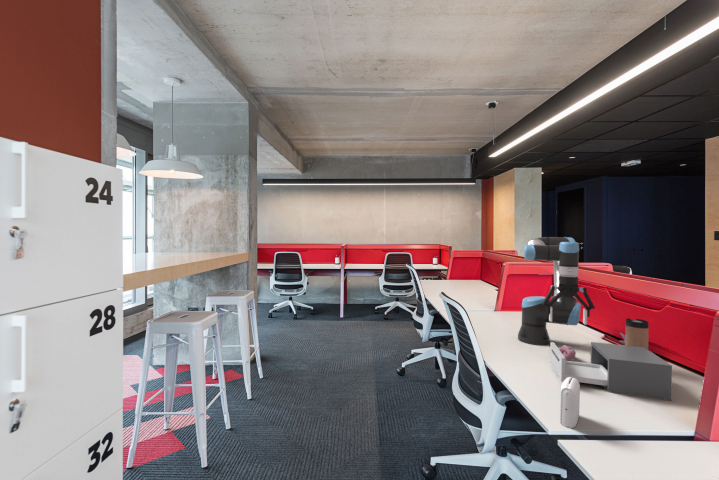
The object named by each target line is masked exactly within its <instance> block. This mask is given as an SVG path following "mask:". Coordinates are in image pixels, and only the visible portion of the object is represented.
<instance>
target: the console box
mask: <svg viewBox="0 0 719 480" xmlns="http://www.w3.org/2000/svg"><path fill="white" fill-rule="evenodd" d="M590 364H598V365H602V366H603V367H604V368H605V369H606V370H607V371H608V375H607V386H604V385H602V387H604V389H605V390H606V391H607V392H608V393H614V394H619V395H620V394H621V395H628V396H636V397H641V398H650V399H656V400H664V401H672V385H673V382H672V380H673V364H672V365H671V364H670V363H669V362H667V361H666V360H664V359H662V358H661V357H660V356H658V355H656V353H654V352H652V351H651V350H649V348H648V349H646V348H645V347H637V346H627V345H625V344H615V343H605V342H604V343H603V342H595V341H594V342H593V341H591V342H590Z"/></svg>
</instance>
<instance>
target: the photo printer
mask: <svg viewBox="0 0 719 480" xmlns="http://www.w3.org/2000/svg"><path fill="white" fill-rule="evenodd" d="M580 384H581V383H580V382H578V380H577V379H575V378H572V377H568V378H566V379H565V380H564V382H562V383H561V387H560V406H559V407H560V408H559V411H560V412H559V413H560V414H559V421H560V424H561V425H562V426H564V427H566V428H570V429H573V428H575V427H576V426H577V423H578V420H579V416H580V404H581V403H580V398H581V397H580V396H581V392H580V391H581V386H580Z"/></svg>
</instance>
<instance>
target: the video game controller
mask: <svg viewBox="0 0 719 480" xmlns="http://www.w3.org/2000/svg"><path fill="white" fill-rule="evenodd" d="M558 349H559V350H560V352H561V353H562V354H563V356H564V357H565V358H566V359H565V361H571V360H573V359H574V358H576V351H575V350H574V348H573V347H571V346H570V345H565V344H564V345H562V346H561V347H558Z"/></svg>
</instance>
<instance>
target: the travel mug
mask: <svg viewBox="0 0 719 480" xmlns="http://www.w3.org/2000/svg"><path fill="white" fill-rule="evenodd" d="M649 324H650V323H649V321H648V320H645V319H640V318H639V319H638V318H636V319H631V318H630V317H629V318H626V319H625V334H624V335H625V344H624V345H627V346H637V347H645V348H646V349H648V350H649V328H650V327H649V326H650V325H649Z"/></svg>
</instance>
